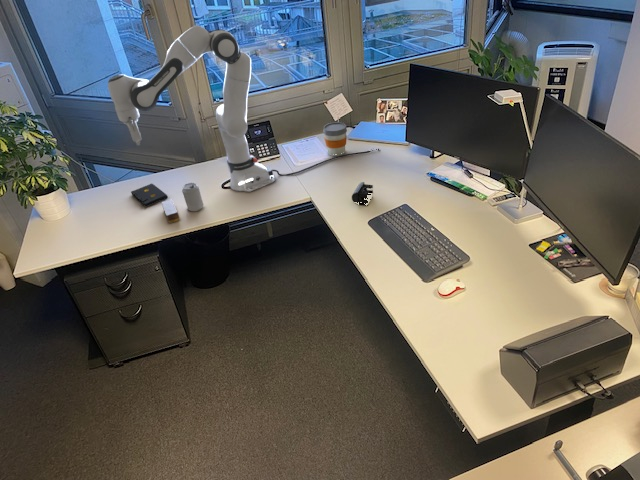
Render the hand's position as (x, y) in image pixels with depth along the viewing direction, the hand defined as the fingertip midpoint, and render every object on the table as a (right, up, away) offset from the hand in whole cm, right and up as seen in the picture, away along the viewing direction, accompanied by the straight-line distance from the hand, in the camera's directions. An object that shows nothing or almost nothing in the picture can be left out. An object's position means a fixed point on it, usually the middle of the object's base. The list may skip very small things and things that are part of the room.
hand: (138, 144), depth 207 cm
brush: (+13, -32, +8) cm, 35 cm away
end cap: (+101, -25, +3) cm, 104 cm away
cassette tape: (-4, -21, +25) cm, 33 cm away
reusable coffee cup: (+91, +5, +47) cm, 102 cm away
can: (+23, -28, +11) cm, 38 cm away
